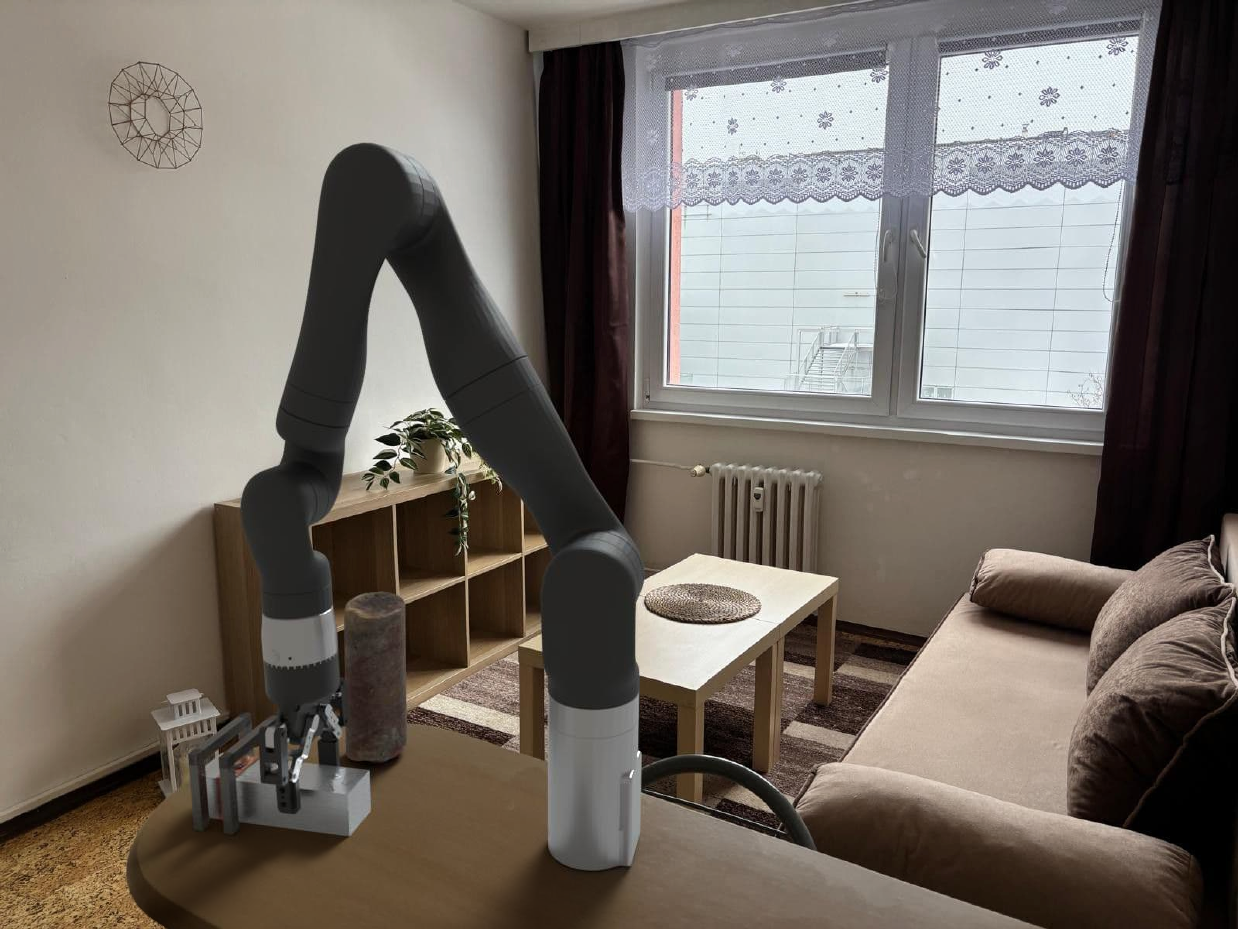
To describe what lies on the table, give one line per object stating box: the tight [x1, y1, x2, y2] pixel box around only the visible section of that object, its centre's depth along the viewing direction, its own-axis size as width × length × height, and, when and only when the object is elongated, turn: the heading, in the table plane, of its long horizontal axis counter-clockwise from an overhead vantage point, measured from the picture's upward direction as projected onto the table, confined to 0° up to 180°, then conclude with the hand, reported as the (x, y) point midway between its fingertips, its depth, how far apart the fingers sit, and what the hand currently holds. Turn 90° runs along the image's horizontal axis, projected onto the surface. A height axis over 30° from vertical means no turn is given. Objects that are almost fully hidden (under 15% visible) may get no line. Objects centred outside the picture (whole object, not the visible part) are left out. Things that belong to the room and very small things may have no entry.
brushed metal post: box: [205, 752, 372, 837], centre depth 100 cm, size 18×5×5 cm, turn 79°
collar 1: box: [187, 712, 255, 832], centre depth 101 cm, size 1×10×9 cm, turn 169°
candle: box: [343, 591, 408, 764], centre depth 111 cm, size 8×7×20 cm
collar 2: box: [218, 715, 277, 836], centre depth 100 cm, size 1×10×9 cm, turn 169°
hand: (310, 790), depth 99 cm, fingers open, 8 cm apart
